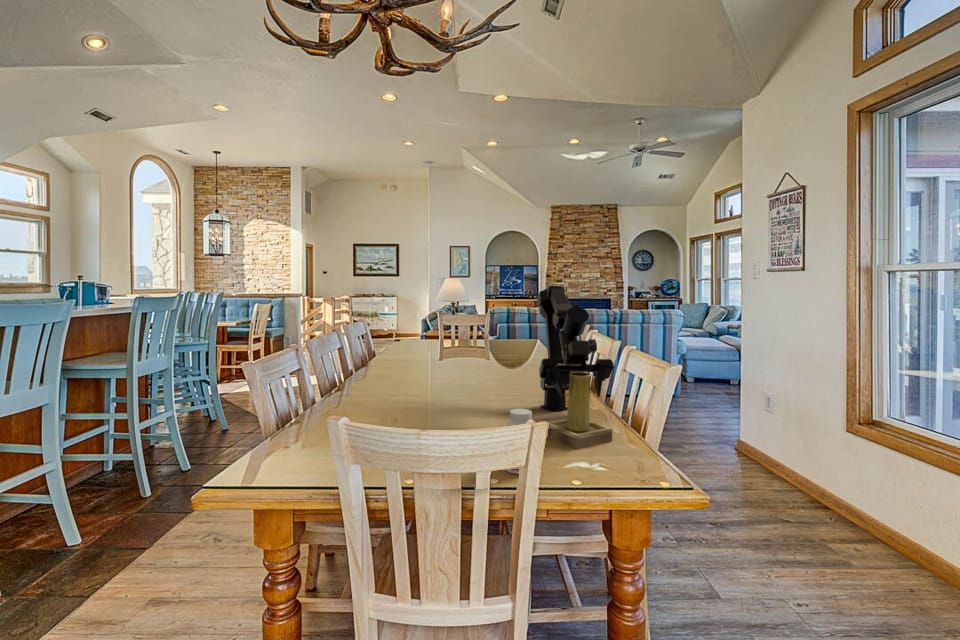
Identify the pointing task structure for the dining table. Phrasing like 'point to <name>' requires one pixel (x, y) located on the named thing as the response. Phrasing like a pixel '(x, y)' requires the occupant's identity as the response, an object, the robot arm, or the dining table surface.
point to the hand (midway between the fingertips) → (581, 396)
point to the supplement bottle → (518, 418)
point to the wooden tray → (573, 438)
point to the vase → (579, 402)
